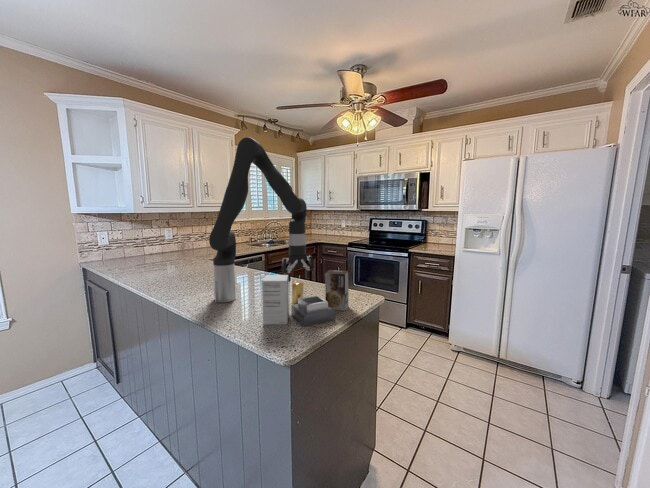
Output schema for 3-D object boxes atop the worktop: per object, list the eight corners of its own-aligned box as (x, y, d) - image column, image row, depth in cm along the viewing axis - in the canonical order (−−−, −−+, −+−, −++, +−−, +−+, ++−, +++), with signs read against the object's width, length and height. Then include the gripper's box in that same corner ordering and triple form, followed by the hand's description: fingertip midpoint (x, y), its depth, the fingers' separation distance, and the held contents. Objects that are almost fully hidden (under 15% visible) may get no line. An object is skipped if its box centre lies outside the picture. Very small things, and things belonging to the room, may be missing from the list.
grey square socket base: (304, 326, 100) (303, 307, 99) (291, 314, 111) (291, 297, 110) (334, 320, 105) (335, 302, 105) (320, 309, 117) (320, 293, 116)
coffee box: (348, 306, 121) (349, 270, 119) (345, 311, 115) (345, 274, 113) (329, 304, 124) (329, 269, 122) (324, 308, 117) (324, 272, 116)
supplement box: (266, 315, 110) (265, 274, 108) (289, 314, 111) (288, 274, 109) (262, 325, 100) (261, 280, 98) (287, 324, 101) (287, 280, 99)
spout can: (294, 307, 119) (294, 285, 118) (288, 302, 125) (288, 281, 124) (305, 305, 121) (305, 283, 120) (299, 301, 128) (298, 280, 126)
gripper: (308, 242, 126) (309, 276, 128) (279, 244, 119) (280, 280, 121) (315, 243, 119) (316, 279, 121) (284, 245, 113) (285, 284, 114)
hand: (298, 280), depth 121 cm, fingers open, 8 cm apart
